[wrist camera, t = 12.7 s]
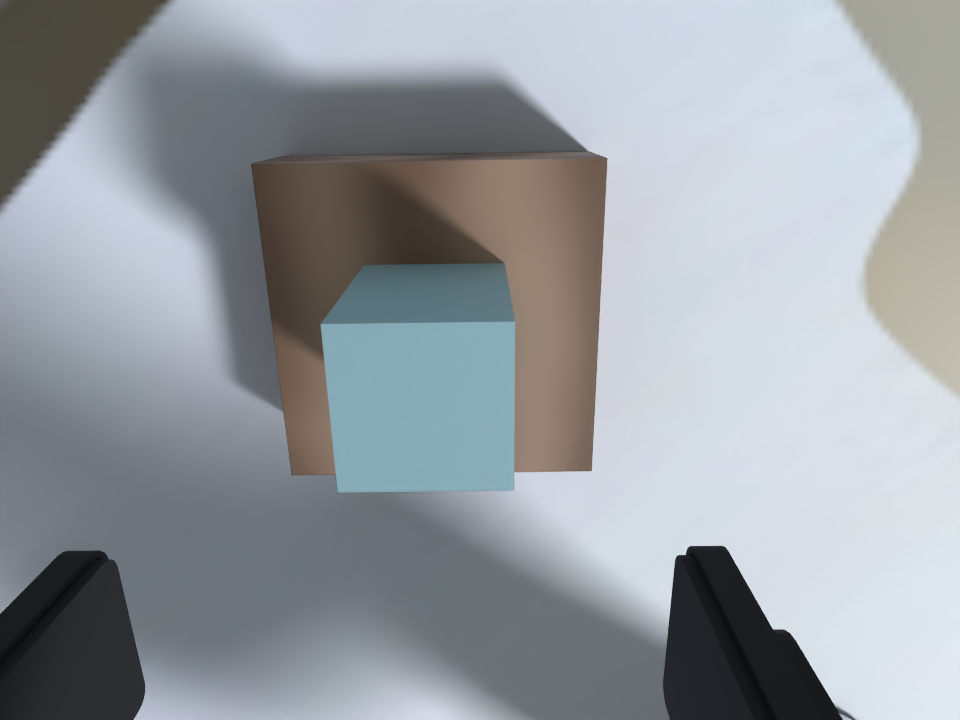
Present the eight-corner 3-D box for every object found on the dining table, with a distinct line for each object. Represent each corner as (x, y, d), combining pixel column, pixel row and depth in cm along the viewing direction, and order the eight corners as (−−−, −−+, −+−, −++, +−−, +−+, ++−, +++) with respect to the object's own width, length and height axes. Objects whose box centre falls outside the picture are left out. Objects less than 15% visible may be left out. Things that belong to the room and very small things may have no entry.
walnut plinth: (588, 151, 26) (607, 158, 22) (577, 426, 30) (591, 471, 27) (283, 156, 26) (251, 163, 22) (314, 430, 30) (291, 475, 27)
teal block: (504, 263, 24) (515, 321, 17) (504, 392, 25) (513, 490, 19) (364, 264, 24) (320, 324, 17) (373, 394, 25) (337, 492, 19)
